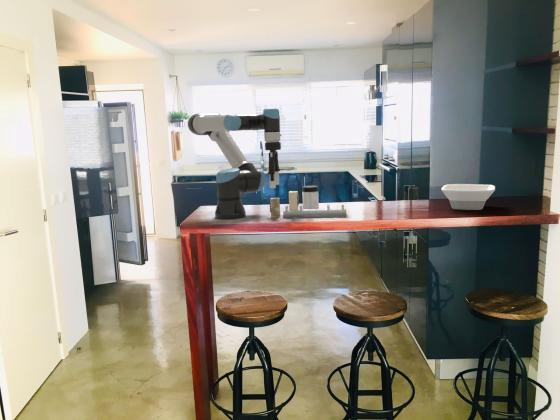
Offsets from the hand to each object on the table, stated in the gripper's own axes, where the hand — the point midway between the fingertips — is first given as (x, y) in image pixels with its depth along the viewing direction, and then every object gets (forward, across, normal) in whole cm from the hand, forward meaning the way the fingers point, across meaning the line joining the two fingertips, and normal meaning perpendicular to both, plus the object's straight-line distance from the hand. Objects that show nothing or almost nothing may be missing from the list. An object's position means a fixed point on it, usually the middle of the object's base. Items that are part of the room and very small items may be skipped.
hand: (274, 186), depth 221 cm
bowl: (+16, +17, -94) cm, 96 cm away
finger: (+15, 0, 0) cm, 15 cm away
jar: (+15, +21, -16) cm, 30 cm away
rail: (+15, 0, -19) cm, 24 cm away
